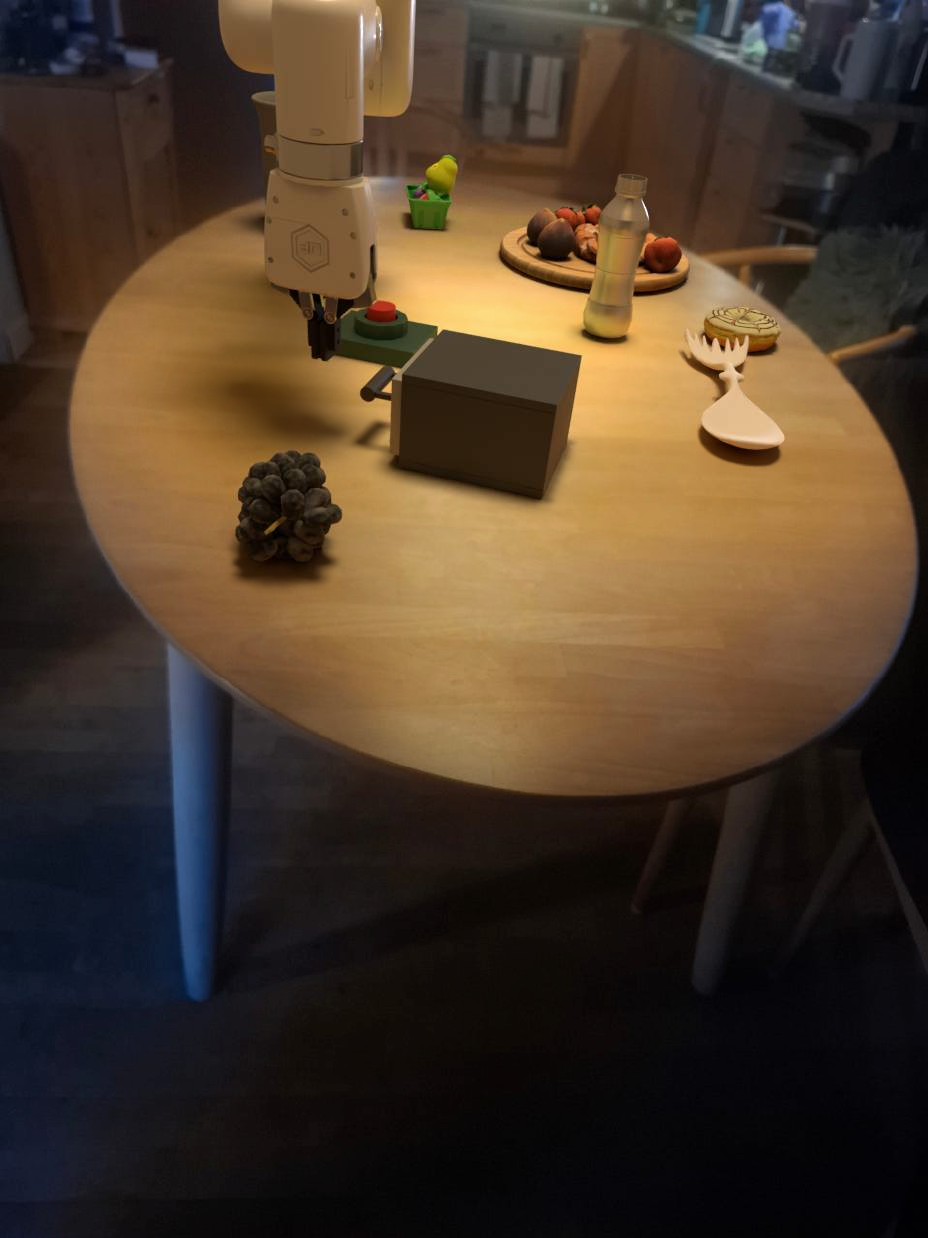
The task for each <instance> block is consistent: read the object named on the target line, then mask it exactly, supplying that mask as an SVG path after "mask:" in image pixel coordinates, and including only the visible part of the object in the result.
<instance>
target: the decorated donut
mask: <svg viewBox="0 0 928 1238" xmlns="http://www.w3.org/2000/svg"><path fill="white" fill-rule="evenodd" d="M703 329H704V333H705V334H706V336H707V338H708V339H709V340H710V341H711V342H713V340H714V339H715V338H716V339H717V340H718V342H719V345H720V347H723V348H725V344H726V339H727V338H728V339H729V343H730V348H731V351H733V350H734V344H735V339H736V337H737V339H738V341H739V345H740V347H741V346H743V343H744V339H745V336H746V335H748V337H749V347H748V351H747V353H752V352H760V351H765V350H767V349H769V348H771V347H772V346H773V345H774V344H775V343H776V341H777V340H778V338H780V335H781V334H782V329H781V326H780V323H779V322H778V321H777V320H776V319H775V318H774V317H773V316H771V315H770V314H767V313H764V312H762V311H761V310H758V309H754V308H753V307H748V306H721V307H718V308H714V309H711V310H709V311H708V312H707V313H706V314H705V318H704V320H703Z"/></svg>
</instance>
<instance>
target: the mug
mask: <svg viewBox="0 0 928 1238" xmlns="http://www.w3.org/2000/svg"><path fill="white" fill-rule="evenodd" d="M250 98H251V101H252V103H253V105H254V107H255V109H256V111H257V112H256V113H257V117H258V122H259V129H260V138H261V139H260V141H261V142H260V144H261V157H262V159H261V160H262V172H263V174H262V175H263V188H264V201H265V202H264V203H265V204H264V205H265V207H266V197H267V188H268V181H269V175H270V171H271V170H273V169H275V168H278V167H279V165H278V164H277V162H276V155H275V154H273V152H267V151H266V150H265V147H264V140H265V137H266V136H267V135H270V136H274V135H275V132H277V122H276V102H275V90H270V91H261V92H256V93H254V94H252V95H251V97H250ZM264 218H265V214H264Z"/></svg>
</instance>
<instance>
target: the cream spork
mask: <svg viewBox="0 0 928 1238" xmlns="http://www.w3.org/2000/svg"><path fill="white" fill-rule="evenodd" d="M693 335H694V336H693V337H692V335H691V333H690V331H689V329H688V327H685V330H684V335H683V336H684V339H685V342H686V344H687V346H688V348H689V349H690V351H691V353H692V355H693V356H694V357H695V359H696V360H698V361H699V362H700V363H701V364H702V365H704V366H706V367H708V368H710V369H711V370H715V371H723V372H720V373H719V374H718V376H719V379H720V380H721V381H724V382H726V383H728V385H729V388H728V391H727V392H726V393H725V394H724V395H722V396H721V397H720V398H719V399H717V400H716V401H715V402H713V403H712V404H710V405H709V406H708V407H707V408H706V409H705V410H704V411H703V413H702V415H701V425H702V427H703V428H704V429H705V431H706V432H707V433H708V434H710V435H711V436H713V437H714V438H716V439H717V440H719V441H721V442H723V443H725V444H729V445H731V446H733V447H737V448H740V449H746V450H757V451H758V450H767V449H772V448H776V447H778V446H779V445H781V444H782V443H784V441H785V435H784V433H783V431H782V430H781V429H780V427H779V426H778V425H777V423H776V422H775V421H774V420H773V419H772V418H771V417H770V416H769V415H767V414H766V413H765V412H764V411H763V410H762V409H760V408H759V407H758V405H756V404H755V403H754V402H752V401H751V400H750V399H749V398H748V397H747V396H746V395H745V393H744V392H743V391H742V389H741V387H740V385H739V383H742V382H744V381H745V376H744V375H743V374H742V373H740V372H738V371H737V370H736V368H737V367H739V366H741V364H743V363H744V362H745V361H746V358H747V356H748V352H747V351H748V347H749V337H748V335H746V336H745V339H744V343H743V346H741V347H740V345H739V341H738V339H737V337H736V339H735V344H734V350H731V348H730V343H729V339H728V338H727V339H726V344H725V347H724V351H723V352H722V349H721V346H720V345H719V342H718V340H717V339H716V338H715V339H714V340H713V341H712V344H711V348H710V349H709V346H708V342H707V339H706V336H705V335H702V339H701V342H700V340H699V337H698V333H697V332H694V334H693Z"/></svg>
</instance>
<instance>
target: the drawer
mask: <svg viewBox="0 0 928 1238" xmlns="http://www.w3.org/2000/svg"><path fill="white" fill-rule="evenodd" d="M433 340H434V339H432V338H429V340H428V341H427V342H426V343H425V344H424V345H423V346H422V347H421V348H420V349H419V350H418V351H417V352H416V354H415V355H414V356H413V357H412V358H411V359H410V360H409V361H408V362H407V363H406V364H405V365H404V366H403V367H402V368H400V369H399V371H398V372H395V369H394V368H393V366H389V365H383V366H382V367H380V369H379V370H378V371H377V372H376V373H375V374H374V375H373V376H372V377H371V378H370V379H369V380H368V381H367V382H366V383H365V384H364V385H363V386H362V387H361V388H360V390H359V396H360V398H361V399H362V401H364V402H366V403H371V402H373V401H375V400H376V399H378V400H382V401H388V402H390V424H389V425H390V426H389V427H390V428H389V430H390V431H389V432H390V433H389V454H390V455H394V456H398V457H399V441H400V415H401V389H402V374H403V372H404V371H405V370H406V369H407V368H408V367H409V366H410V365H411V364H412V363H413V362H414V360H415V359H416V358H417V357H418V356H419V355H420V354H421V353H422V352H423V351H424V350H425V348H426V347H427V346H428V345H429V344H430V343H431V342H432V341H433ZM389 384H391V389H390V391H391V392H386V391H383V390H385V388H386V387H387V386H388V385H389Z"/></svg>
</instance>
